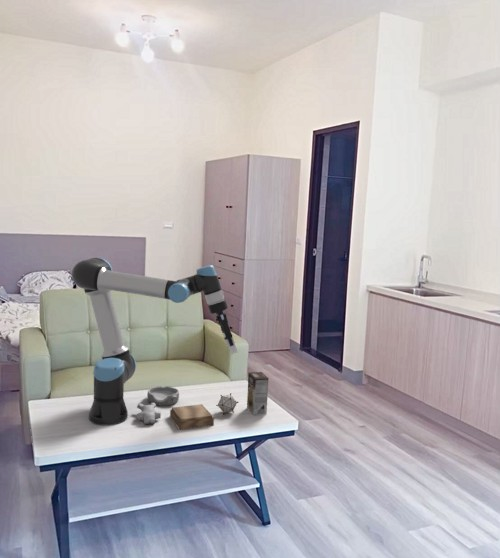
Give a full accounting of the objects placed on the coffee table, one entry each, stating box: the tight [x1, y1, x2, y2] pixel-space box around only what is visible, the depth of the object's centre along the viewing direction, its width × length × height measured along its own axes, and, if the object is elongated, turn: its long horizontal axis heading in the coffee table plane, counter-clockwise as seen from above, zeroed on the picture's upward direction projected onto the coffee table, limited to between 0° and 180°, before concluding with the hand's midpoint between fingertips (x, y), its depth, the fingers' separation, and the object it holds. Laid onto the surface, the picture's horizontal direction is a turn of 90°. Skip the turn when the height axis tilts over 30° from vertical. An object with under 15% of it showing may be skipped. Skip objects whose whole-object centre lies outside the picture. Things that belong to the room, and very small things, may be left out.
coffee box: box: [246, 371, 269, 416], centre depth 232 cm, size 9×6×16 cm
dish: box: [146, 385, 180, 406], centre depth 240 cm, size 14×14×5 cm
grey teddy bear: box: [136, 403, 162, 425], centre depth 220 cm, size 10×5×15 cm
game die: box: [215, 392, 239, 415], centre depth 229 cm, size 9×8×10 cm
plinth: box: [169, 403, 215, 430], centre depth 219 cm, size 14×14×4 cm
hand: (232, 350), depth 225 cm, fingers open, 13 cm apart
